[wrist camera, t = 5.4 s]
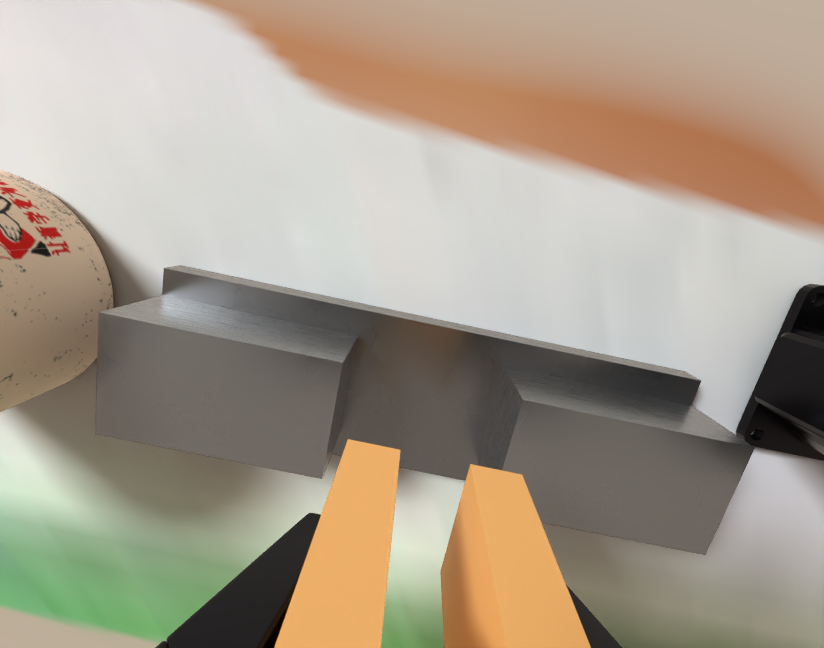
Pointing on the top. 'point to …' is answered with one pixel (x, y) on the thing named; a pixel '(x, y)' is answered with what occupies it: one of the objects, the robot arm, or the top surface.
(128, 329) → the rail
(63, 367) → the teacup with lid
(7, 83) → the top surface
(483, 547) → the clip
